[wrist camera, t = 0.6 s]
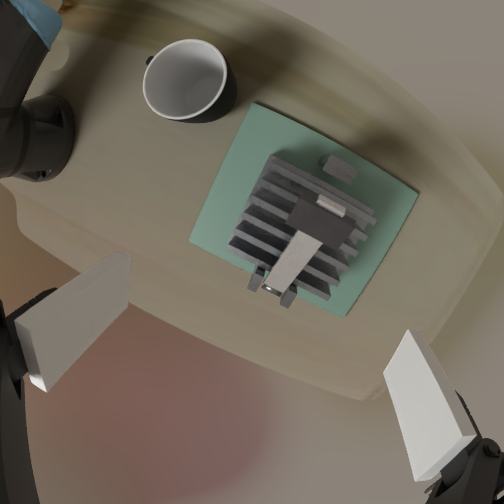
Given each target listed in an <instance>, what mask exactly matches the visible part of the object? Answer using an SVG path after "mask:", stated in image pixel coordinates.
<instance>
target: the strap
mask: <svg viewBox="0 0 504 504" xmlns="http://www.w3.org/2000/svg"><path fill="white" fill-rule="evenodd" d="M345 211H346V208H344V207H343V206H341V205H339V204H337V203H336V202H334V201H332V200H330V199H328V198H327V197H325V196H323V195H321V194H320V195H319V196H318V198H317V199H316V198H314V197H312V196H311V195H309V194H307V193H305V192H303V191H302V193H301V195H300V197H299V198H298V200H297V202H296V204H295V205H294V207H293V209H292V210H291V212H290V214H289V216H288V218H287V220H286V222H285V223H286V224H288V225H290V226H291V227H293V228H295V229H297V231H296V232H295V234H294V235H293V237H292V238H291V240H290V241H289V243H288V244H287V246H286V248H285V249H284V251H283V252H282V254H281V255H280V257H279V258H278V260H277V261H276V263H275V264H274V266H273V267H272V269H271V270H270V272H269V273H268V275H267V276H266V278H265V279H264V282H263V284H262V287H261V288H263V289H265V290H267V291H269V292H271V293H273V294H275V295H277V296H279V297H280V296H281V295H282V294H283V293H284V291H285V290H286V289H287V288H288V286H289V285H290V284H291V283H292V281H293V280H294V279H295V278H296V276H297V275H298V274H299V273H300V271H301V270H302V269H303V268H304V266H305V265H306V264H307V263H308V261H309V260H310V259H311V258H312V256H313V255H314V254H315V253H316V251H317V250H318V249H319V247H320V246H321V245H322V244H323V243H324V244H326V245H327V246H329V247H331V248H333V249H335V250H338V248H339V247H340V246H341V245H342V244H343V242H344V241H345V240H346V239H347V238H348V236H349V235H350V234H351V233H352V232H353V230H354V229H355V225H356V220H354V219H352V218H350V217H349V216H347V215H345Z"/></svg>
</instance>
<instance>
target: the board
mask: <svg viewBox="0 0 504 504" xmlns="http://www.w3.org/2000/svg"><path fill="white" fill-rule="evenodd" d="M270 154H272V155H274V156H276V157H278V158H280V159H282V160H284V161H286V162H288V163H290V164H292V165H294V166H296V167H298V168H300V169H302V170H303V171H305V172H307V173H309V174H311V175H313V176H315V177H317V178H319V179H320V180H322V181H324V182H326V183H328V184H330V185H331V186H333V187H335V188H337V189H339V190H340V191H342V192H344V193H346V194H347V195H349V196H351V197H353V198H354V199H356V200H358V201H359V202H361V203H363V204H364V205H366V206H368V207H370V208H371V209H373V210H374V213H373V215H372V216H373V217H374V218H375V219H377V222H376V223H375V225H372V224H370V223H369V222H368V224H367V225H366V227H365V229H364V232H365V233H366V234H367V235H368V237H367V239H366V241H363V240H361V239H360V238H359V239H358V241H357V243H356V244H355V247H356V248H357V250H358V251H359V253H358V254H357V256H356V257H354V256H353V255H351V254H350V255H349V256H348V258H347V263H348V265H349V267H350V268H349V269H348V271H347V272H345V271H343V270H341V269H340V271H339V273H338V276H339V279H340V284H339V285H338V287H336V286H334V285H332V284H331V285H330V287H329V289H330V293H331V297H330V299H329V301H327V300H325V299H323V298H321V297H319V296H317V295H315V294H313V293H311V292H309V291H307V290H305V289H303V288H301V287H299V286H297V295H296V296H298V297H300V298H302V299H304V300H306V301H308V302H310V303H312V304H314V305H316V306H318V307H320V308H322V309H324V310H327V311H329V312H331V313H333V314H335V315H337V316H339V317H341V318H344V317H345V315H346V314H347V312H348V311H349V309H350V308H351V306H352V305H353V304H354V302H355V301H356V299H357V298H358V296H359V295H360V293H361V292H362V290H363V289H364V287H365V286H366V284H367V282H368V281H369V279H370V278H371V276H372V275H373V273H374V272H375V270H376V268H377V267H378V265H379V264H380V262H381V260H382V259H383V257H384V255H385V254H386V252H387V250H388V249H389V247H390V245H391V244H392V242H393V240H394V238H395V237H396V235H397V233H398V232H399V230H400V228H401V226H402V224H403V223H404V221H405V219H406V217H407V215H408V214H409V212H410V210H411V208H412V206H413V204H414V202H415V200H416V198H417V197H418V195H419V194H417V193H416V192H415V191H413V190H412V189H410V188H409V187H407V186H406V185H404V184H403V183H401V182H400V181H398V180H397V179H395V178H394V177H392V176H391V175H389V174H388V173H386V172H385V171H383V170H381V169H380V168H378V167H377V166H375V165H373V164H372V163H370V162H368V161H367V160H365V159H363V158H362V157H360V156H358V155H357V154H355V153H353V152H351V151H350V150H348V149H346V148H344V147H343V146H341V145H339V144H337V143H335V142H334V141H332V140H330V139H328V138H326V137H324V136H322V135H321V134H319V133H317V132H315V131H313V130H311V129H309V128H307V127H305V126H303V125H301V124H299V123H297V122H295V121H293V120H291V119H289V118H286V117H284V116H282V115H280V114H278V113H276V112H273V111H271V110H269V109H267V108H265V107H262V106H260V105H258V104H255V103H253V102H252V104H251V106H250V108H249V110H248V112H247V114H246V116H245V118H244V120H243V122H242V124H241V126H240V128H239V130H238V132H237V134H236V136H235V138H234V140H233V142H232V145H231V147H230V149H229V151H228V153H227V155H226V157H225V159H224V161H223V164H222V166H221V168H220V170H219V172H218V174H217V177H216V179H215V181H214V183H213V185H212V188H211V190H210V192H209V194H208V197H207V199H206V201H205V203H204V206H203V208H202V210H201V213H200V215H199V217H198V220H197V222H196V224H195V227H194V229H193V231H192V234H191V236H190V239H189V242H191V243H193V244H195V245H197V246H199V247H201V248H203V249H205V250H207V251H209V252H211V253H213V254H215V255H217V256H218V257H220V258H222V259H224V260H226V261H228V262H230V263H232V264H234V265H236V266H238V267H240V268H242V269H244V270H246V271H248V272H250V273H252V274H253V271H254V269H255V266H256V265H255V264H253V263H251V262H249V261H247V260H245V259H243V258H241V257H239V256H237V255H235V254H233V253H231V252H229V251H227V250H226V247H227V245H228V243H227V242H228V240H229V237H230V235H231V233H232V231H233V229H234V227H235V225H236V223H237V221H238V219H239V217H240V214H241V212H242V210H243V208H244V206H245V204H246V202H247V200H248V198H249V196H250V194H251V192H252V190H253V188H254V186H255V184H256V182H257V180H258V178H259V176H260V174H261V171H262V169H263V167H264V165H265V163H266V161H267V159H268V157H269V155H270ZM329 154H332V155H333V156H335V157H337V158H339V159H341V160H342V161H344V162H346V163H348V164H349V165H351V166H353V167H355V168H356V169H358V170H359V171H358V173H357V175H356V177H355V178H354V179H353V181H352V183H351V185H348V184H346V183H345V182H343V181H341V180H339V179H338V178H336V177H334V176H332V175H330V174H329V173H327V172H325V171H323V170H322V168H323V165H321V164H319V163H318V162H319V160H320V159H321V157H322V156H323V155H329ZM268 273H269V271H267V270H266V271H265V275H264V278H263V279H265V278H266V276H267V275H268Z"/></svg>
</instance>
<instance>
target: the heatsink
mask: <svg viewBox="0 0 504 504" xmlns="http://www.w3.org/2000/svg"><path fill="white" fill-rule="evenodd" d="M318 163H319V164H321V165H323V168H322V170H323V171H325V172H327V173H329V174H330V175H332V176H334V177H336V178H338V179H339V180H341V181H343V182H345V183H346V184H348V185H351V183H352V181H353V179H354V178H355V177H356V175H357V173H358V171H359V170H358V169H356V168H355V167H353V166H351V165H349V164H348V163H346V162H344V161H342V160H341V159H339V158H337V157H335V156H333V155H332V154H329V155H323V156H322V157H321V159H320V160H319V162H318ZM302 191H303V192H305V193H307V194H309V195H311V196H312V197H314V198H316V199H317V198H318V196H319V195H320V194H321V195H323V196H325V197H327V198H328V199H330V200H332V201H334V202H336V203H337V204H339V205H341V206H343V207H344V208H346V211H345V215H347V216H349V217H350V218H352V219H354V220H356V225H355V229H354V230H353V232H352V233H351V234H350V235H349V236H348V238H347V239H346V240H345V241H344V242H343V244H342V245H341V246H340V247H339V248H338V250H335V249H333V248H331V247H329V246H327V245H326V244H324V243H323V244H322V245H321V246H320V247H319V249H318V250H317V251H316V253H315V254H314V255H313V256H312V258H311V259H310V260H309V261H308V263H307V264H306V265H305V266H304V268H303V269H302V270H301V271H300V273H299V274H298V275H297V276H296V278H295V279H294V280H293V281H292V283H291V284H290V285H289V286H288V288H287V289H286V290H285V291H284V293H283V294H282V295H281V301H280V305H282V306H284V307H286V308H289V306H290V305H291V303H292V302H293V300H294V298H295V297H296V295H297V286H299V287H301V288H303V289H305V290H307V291H309V292H311V293H313V294H315V295H317V296H319V297H321V298H323V299H325V300H327V301H329V299H330V297H331V293H330V289H329V287H330V285H331V284H332V285H334V286H336V287H338V285H339V284H340V279H339V276H338V273H339V271H340V269H341V270H343V271H345V272H347V271H348V269H349V268H350V267H349V265H348V263H347V258H348V256H349V255H350V254H351V255H353V256H354V257H356V256H357V254H358V253H359V251H358V250H357V248H356V247H355V244H356V243H357V241H358V239H359V238H360V239H361V240H363V241H366V239H367V237H368V235H367V234H366V233H365V232H364V229H365V227H366V225H367V224H368V222H369V223H370V224H372V225H375V223H376V222H377V219H375V218H374V217H373V216H372V215H373V213H374V210H373V209H371V208H370V207H368V206H366V205H364V204H363V203H361V202H359V201H358V200H356V199H354V198H353V197H351V196H349V195H347V194H346V193H344V192H342V191H340V190H339V189H337V188H335V187H333V186H331V185H330V184H328V183H326V182H324V181H322V180H320V179H319V178H317V177H315V176H313V175H311V174H309V173H307V172H305V171H303V170H302V169H300V168H298V167H296V166H294V165H292V164H290V163H288V162H286V161H284V160H282V159H280V158H278V157H276V156H274V155H272V154H270V155H269V157H268V159H267V161H266V163H265V165H264V167H263V169H262V171H261V174H260V176H259V178H258V180H257V182H256V184H255V186H254V188H253V190H252V192H251V194H250V196H249V198H248V200H247V202H246V204H245V206H244V208H243V210H242V212H241V214H240V217H239V219H238V221H237V223H236V225H235V227H234V229H233V231H232V233H231V235H230V237H229V240H228V242H227V243H228V245H227V247H226V250H227V251H229V252H231V253H233V254H235V255H237V256H239V257H241V258H243V259H245V260H247V261H249V262H251V263H253V264H255V265H256V266H255V269H254V271H253V274H252V277H251V279H250V282H249V285H248V287H247V288H248V289H250V290H252V291H254V292H256V291H257V289H258V287H259V285H260V283H261V281H262V280H263V278H264V275H265V271H266V270H267V271H269V272H270V270H271V269H272V267H273V266H274V264H275V263H276V261H277V260H278V258H279V257H280V255H281V254H282V252H283V251H284V249H285V248H286V246H287V244H288V243H289V241H290V240H291V238H292V237H293V235H294V234H295V232H296V231H297V229H295V228H293V227H291V226H290V225H288V224H286V223H285V222H286V220H287V218H288V216H289V214H290V212H291V210H292V209H293V207H294V205H295V204H296V202H297V200H298V198H299V197H300V195H301V193H302Z"/></svg>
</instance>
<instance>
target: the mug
mask: <svg viewBox="0 0 504 504" xmlns="http://www.w3.org/2000/svg"><path fill="white" fill-rule="evenodd" d="M146 64H147V65H148V67H147V69H146V72H145V75H144V80H143V92H144V96H145V99H146V101H147V103H148V105H149V106H150V108H151V109H152V110H153V111H154V112H156V113H157V114H158V115H160V116H162V117H164V118H167V119H170V120H174V121H179V122H186V123H207V122H211V121H215V120H217V119H219V118H221V117H223V116H224V115H225V114H227V113H228V112H229V111H230V109H231V108H232V106H233V105H234V102H235V99H236V94H237V87H236V81H235V77H234V74H233V72H232V69H231V67H230V65H229V63H228V61H227V60H226V58H225V57H224V55H223V54H222V53H221V52H220V50H219V49H217V48H216V47H215V46H214V45H212V44H210V43H208V42H206V41H203V40H199V39H185V40H180V41H177V42H174V43H172V44H170V45H168V46H166V47H165V48H163V49H162V50H161V51H160V52H159V53H157V54H156V56H155V57H154V56H150V57H149V58H148V59H147V61H146Z"/></svg>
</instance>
